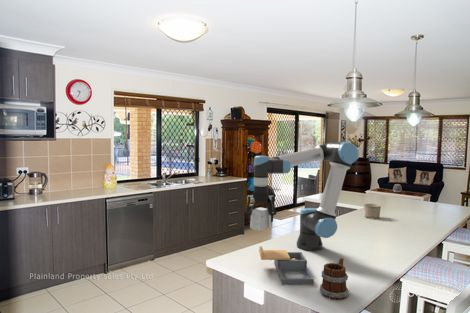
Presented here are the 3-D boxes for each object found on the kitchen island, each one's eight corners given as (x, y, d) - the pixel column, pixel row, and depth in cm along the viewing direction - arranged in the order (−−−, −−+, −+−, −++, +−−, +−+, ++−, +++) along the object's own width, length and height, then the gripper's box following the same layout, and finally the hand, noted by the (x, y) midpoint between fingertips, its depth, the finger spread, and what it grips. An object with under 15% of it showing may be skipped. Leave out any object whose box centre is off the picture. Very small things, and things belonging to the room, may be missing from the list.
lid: (286, 251, 172) (286, 245, 172) (290, 259, 161) (290, 253, 161) (258, 251, 172) (259, 245, 172) (261, 259, 160) (261, 253, 160)
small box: (260, 226, 181) (260, 207, 181) (269, 228, 178) (269, 208, 177) (251, 229, 175) (251, 209, 174) (260, 231, 171) (260, 211, 171)
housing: (301, 263, 173) (301, 252, 173) (313, 284, 148) (314, 271, 148) (274, 263, 173) (274, 252, 172) (282, 284, 148) (282, 271, 147)
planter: (368, 215, 283) (369, 203, 283) (383, 218, 274) (383, 205, 273) (360, 217, 275) (361, 204, 275) (375, 220, 266) (376, 207, 265)
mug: (313, 295, 138) (317, 258, 139) (326, 289, 149) (329, 255, 150) (341, 304, 131) (345, 265, 132) (352, 296, 142) (355, 261, 143)
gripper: (280, 184, 179) (280, 225, 180) (239, 184, 179) (239, 225, 180) (282, 186, 171) (282, 229, 173) (240, 186, 171) (239, 229, 172)
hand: (260, 227), depth 176 cm, fingers closed on small box, 9 cm apart
